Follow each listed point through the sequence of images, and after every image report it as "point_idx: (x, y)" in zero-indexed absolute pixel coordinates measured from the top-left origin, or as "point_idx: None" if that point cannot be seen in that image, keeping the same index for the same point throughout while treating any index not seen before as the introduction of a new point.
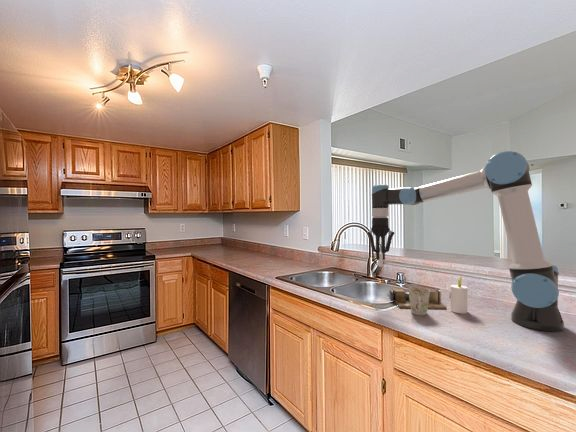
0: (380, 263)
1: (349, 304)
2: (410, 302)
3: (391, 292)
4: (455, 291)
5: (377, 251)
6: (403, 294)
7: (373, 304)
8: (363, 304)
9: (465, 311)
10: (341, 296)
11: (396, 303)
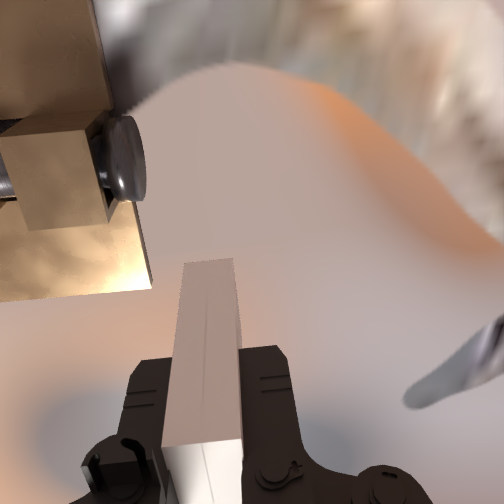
0: (219, 290)
1: (481, 8)
2: None
3: (124, 145)
4: None
5: (297, 482)
6: (22, 128)
7: (287, 37)
8: (367, 25)
9: None
10: (482, 205)
11: (101, 57)
